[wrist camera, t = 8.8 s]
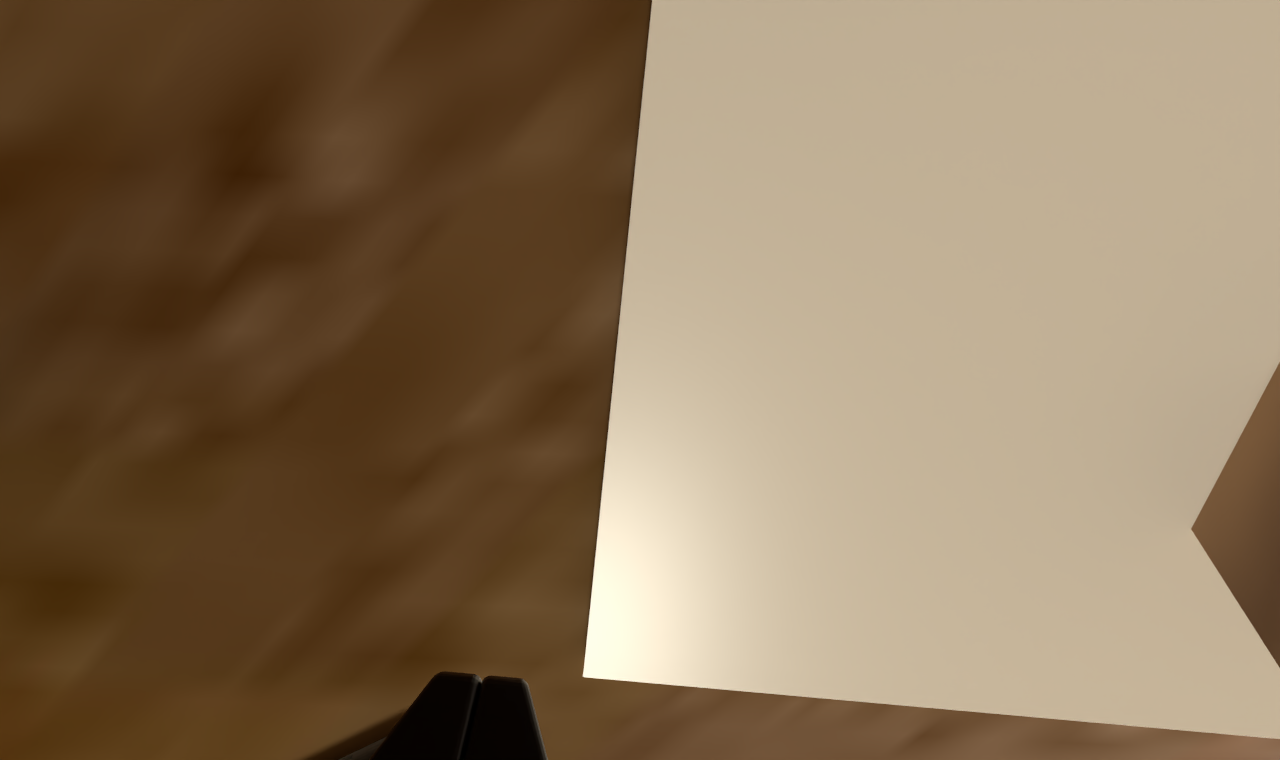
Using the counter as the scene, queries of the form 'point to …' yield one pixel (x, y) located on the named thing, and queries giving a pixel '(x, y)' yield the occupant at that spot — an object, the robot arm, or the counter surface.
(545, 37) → the counter surface
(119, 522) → the counter surface
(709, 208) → the cutting board
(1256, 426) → the walnut block
